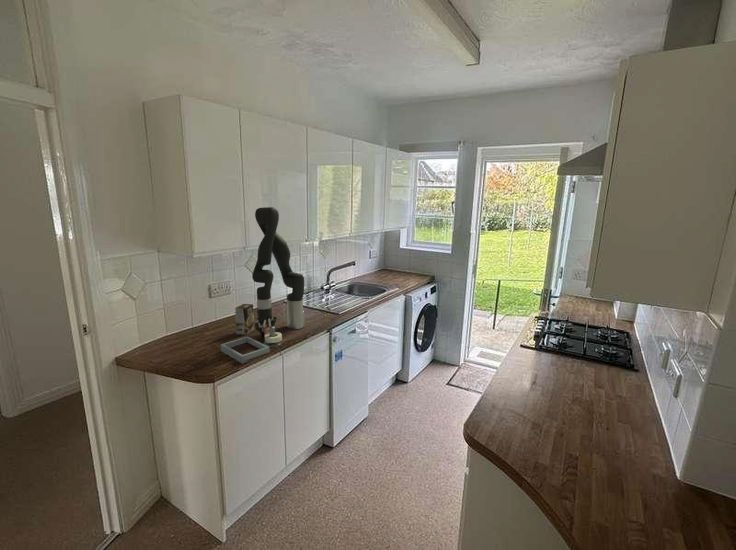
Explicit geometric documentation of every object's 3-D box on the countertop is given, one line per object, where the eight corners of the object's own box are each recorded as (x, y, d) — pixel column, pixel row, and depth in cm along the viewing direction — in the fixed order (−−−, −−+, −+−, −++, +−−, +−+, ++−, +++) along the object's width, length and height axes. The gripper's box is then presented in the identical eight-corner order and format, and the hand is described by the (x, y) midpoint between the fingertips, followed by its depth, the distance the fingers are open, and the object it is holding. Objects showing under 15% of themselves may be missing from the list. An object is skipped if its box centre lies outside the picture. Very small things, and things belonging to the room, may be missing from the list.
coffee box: (246, 336, 200) (245, 308, 197) (236, 335, 201) (234, 307, 198) (254, 330, 209) (253, 304, 205) (244, 329, 210) (243, 303, 207)
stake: (275, 339, 197) (274, 322, 195) (286, 344, 190) (285, 326, 188) (259, 344, 189) (258, 326, 187) (270, 350, 183) (269, 331, 181)
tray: (248, 342, 192) (247, 336, 191) (269, 353, 179) (269, 347, 178) (221, 351, 181) (220, 344, 180) (242, 363, 168) (241, 356, 167)
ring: (270, 333, 198) (269, 324, 197) (285, 339, 190) (284, 330, 189) (256, 337, 192) (256, 328, 191) (271, 344, 184) (270, 335, 183)
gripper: (271, 302, 198) (272, 331, 202) (248, 307, 187) (250, 338, 191) (279, 305, 193) (280, 335, 197) (256, 311, 183) (258, 342, 186)
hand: (265, 336), depth 194 cm, fingers closed on ring, 3 cm apart
